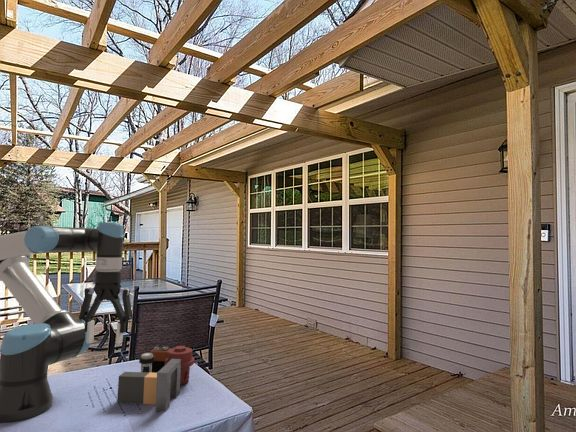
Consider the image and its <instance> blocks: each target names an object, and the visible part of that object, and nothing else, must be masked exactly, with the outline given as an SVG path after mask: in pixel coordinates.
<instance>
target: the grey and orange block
mask: <svg viewBox="0 0 576 432" xmlns="http://www.w3.org/2000/svg"><path fill="white" fill-rule="evenodd" d="M156 385H157V373H150V372H141V371H123V372H122V373H121V374H119V375H118V382H117V404H129V403H130V404H132V405H135V404H134V403H136V405H137V404H138V405H156Z"/></svg>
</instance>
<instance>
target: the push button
mask: <svg viewBox="0 0 576 432" xmlns="http://www.w3.org/2000/svg"><path fill="white" fill-rule="evenodd" d="M154 358H155V356H153V355H152V353H150V352H145V353H142V354H141V355H140V356H139V357H138V361H139V364H140V372H150V373H152V362H154Z"/></svg>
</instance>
